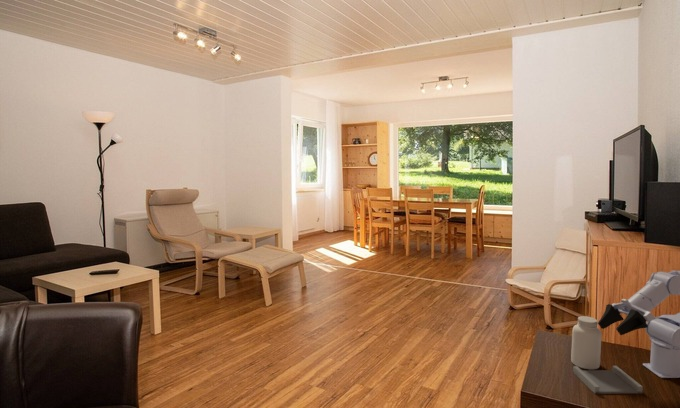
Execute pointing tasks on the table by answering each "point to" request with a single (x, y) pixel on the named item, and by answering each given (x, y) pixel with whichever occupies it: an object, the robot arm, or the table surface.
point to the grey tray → (608, 381)
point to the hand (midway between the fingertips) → (609, 328)
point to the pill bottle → (586, 343)
